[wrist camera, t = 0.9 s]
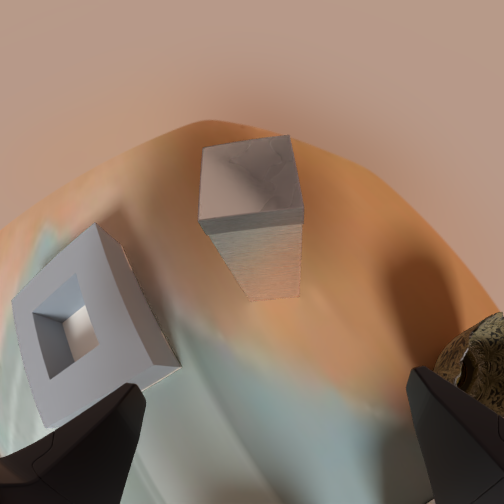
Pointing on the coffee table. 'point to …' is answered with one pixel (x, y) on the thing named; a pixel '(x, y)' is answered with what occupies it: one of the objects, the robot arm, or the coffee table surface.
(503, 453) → the robot arm
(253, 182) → the metal bar
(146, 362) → the square well
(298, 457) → the coffee table surface
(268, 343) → the coffee table surface
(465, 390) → the brown ornate lampshade
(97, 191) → the coffee table surface
